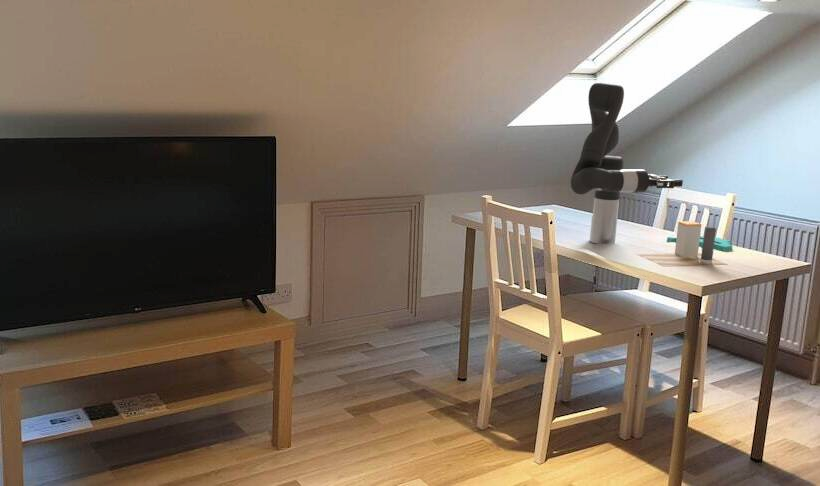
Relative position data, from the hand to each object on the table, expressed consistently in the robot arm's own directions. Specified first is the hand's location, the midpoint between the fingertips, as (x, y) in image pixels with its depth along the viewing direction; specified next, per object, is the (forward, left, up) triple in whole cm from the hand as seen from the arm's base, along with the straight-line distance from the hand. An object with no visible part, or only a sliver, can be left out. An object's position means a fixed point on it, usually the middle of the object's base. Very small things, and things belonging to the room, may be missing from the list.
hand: (674, 181), depth 270 cm
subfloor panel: (-6, +11, -30) cm, 32 cm away
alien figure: (-31, +38, -31) cm, 58 cm away
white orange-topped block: (-11, +16, -29) cm, 35 cm away
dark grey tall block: (0, +16, -29) cm, 33 cm away
